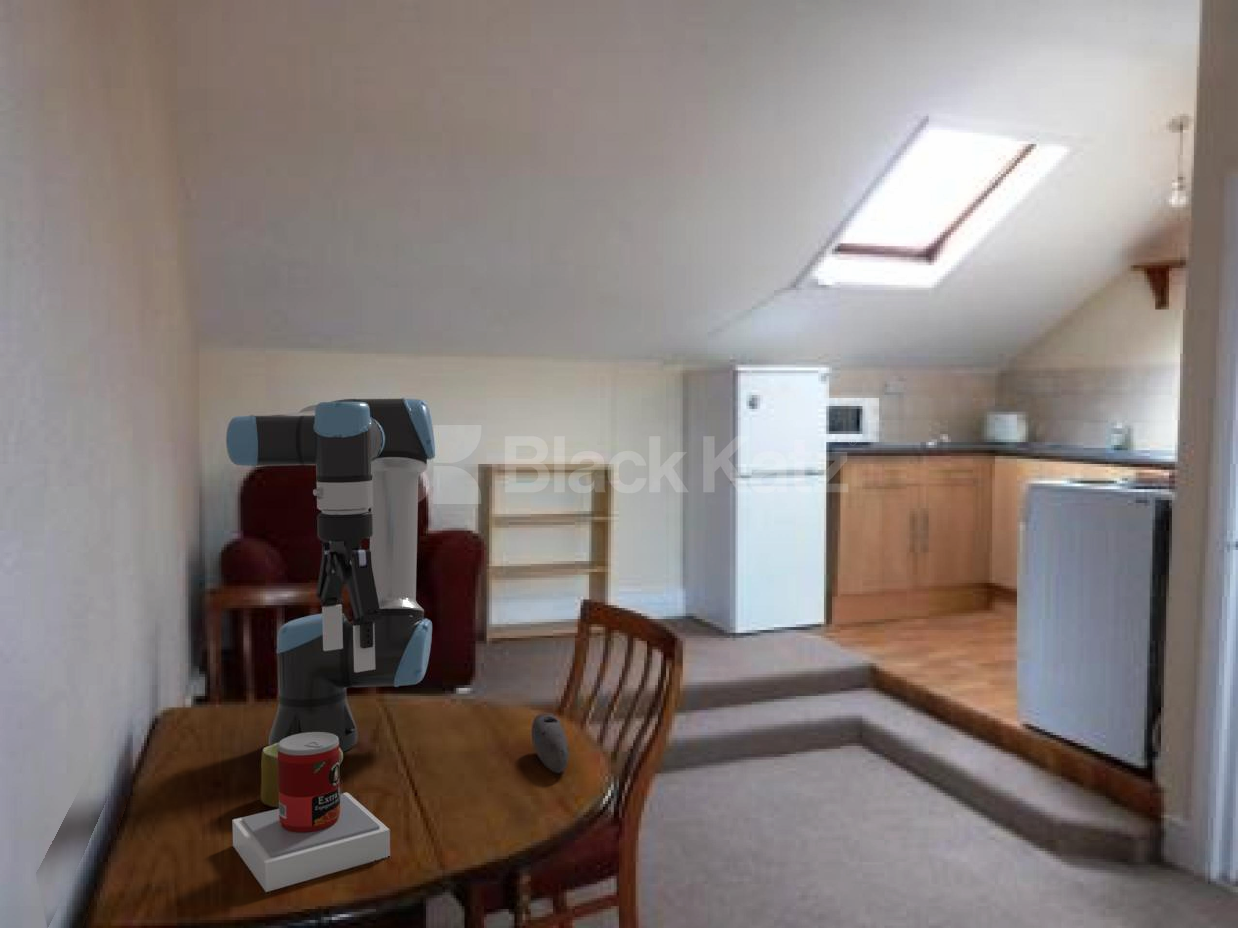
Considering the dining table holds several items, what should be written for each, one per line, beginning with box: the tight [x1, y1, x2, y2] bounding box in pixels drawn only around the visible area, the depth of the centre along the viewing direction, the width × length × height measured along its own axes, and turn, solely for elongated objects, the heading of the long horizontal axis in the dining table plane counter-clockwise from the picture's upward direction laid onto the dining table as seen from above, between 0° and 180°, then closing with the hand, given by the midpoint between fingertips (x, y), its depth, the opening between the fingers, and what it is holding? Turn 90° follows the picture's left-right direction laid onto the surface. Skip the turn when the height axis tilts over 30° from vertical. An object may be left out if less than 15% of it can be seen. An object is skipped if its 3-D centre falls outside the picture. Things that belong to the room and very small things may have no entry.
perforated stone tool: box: [531, 712, 569, 774], centre depth 158 cm, size 15×5×7 cm, turn 13°
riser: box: [231, 791, 391, 893], centre depth 125 cm, size 16×16×4 cm
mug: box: [260, 743, 344, 809], centre depth 143 cm, size 12×10×10 cm
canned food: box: [278, 732, 341, 832], centre depth 125 cm, size 8×8×11 cm
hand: (348, 659), depth 133 cm, fingers open, 13 cm apart
